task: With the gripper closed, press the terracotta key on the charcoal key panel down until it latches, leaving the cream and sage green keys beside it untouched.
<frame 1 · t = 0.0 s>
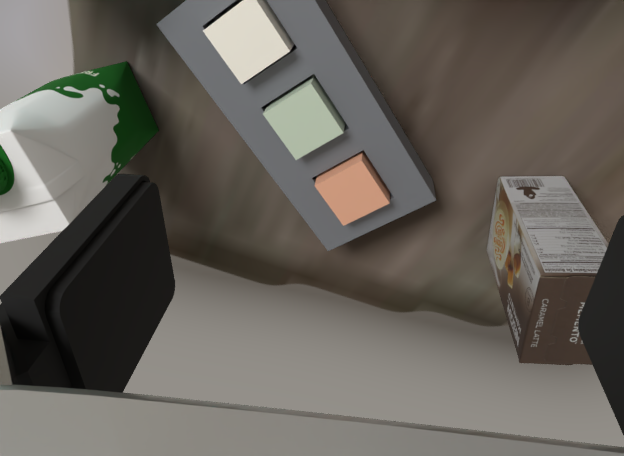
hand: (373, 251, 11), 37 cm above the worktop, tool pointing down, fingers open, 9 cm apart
terracotta key: (353, 186, 48), point 4 cm above the worktop, slide at 0.0 cm
coffee box: (523, 213, 52), on the worktop
milk carton: (114, 105, 51), on the worktop
key panel: (310, 102, 48), on the worktop
cream key: (250, 36, 41), point 4 cm above the worktop, slide at 0.0 cm
sage key: (305, 117, 45), point 4 cm above the worktop, slide at 0.0 cm
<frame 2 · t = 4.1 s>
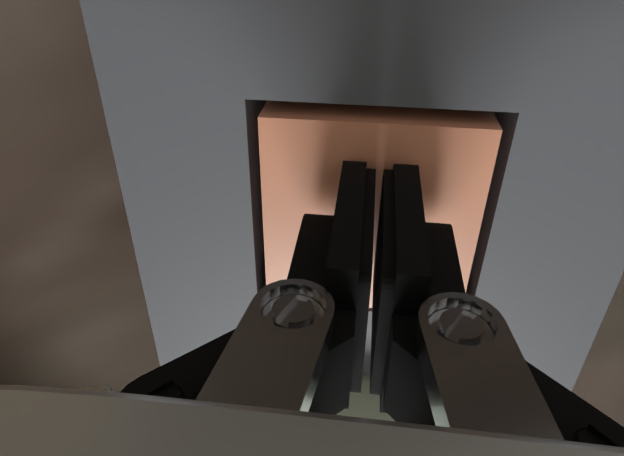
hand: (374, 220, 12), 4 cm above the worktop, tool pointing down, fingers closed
terracotta key: (370, 194, 13), point 3 cm above the worktop, slide at 1.1 cm, touching gripper
key panel: (356, 341, 20), on the worktop
sage key: (351, 426, 16), point 4 cm above the worktop, slide at 0.0 cm
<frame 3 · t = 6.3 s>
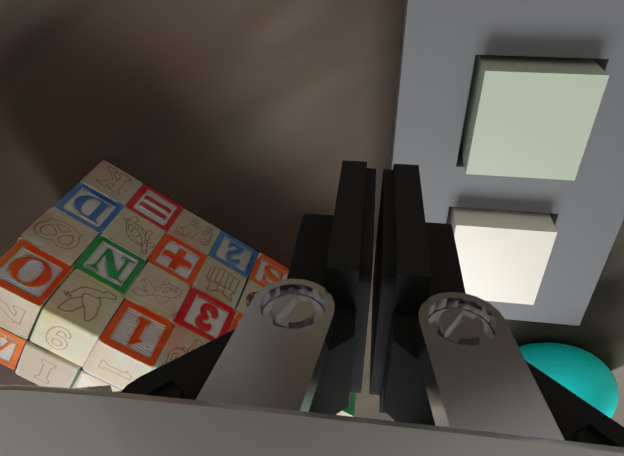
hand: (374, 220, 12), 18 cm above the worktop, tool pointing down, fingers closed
key panel: (511, 87, 27), on the worktop
cream key: (492, 249, 29), point 4 cm above the worktop, slide at 0.0 cm
stack of blocks: (223, 263, 38), on the worktop
donuts: (538, 377, 40), on the worktop
sage key: (525, 115, 24), point 4 cm above the worktop, slide at 0.0 cm
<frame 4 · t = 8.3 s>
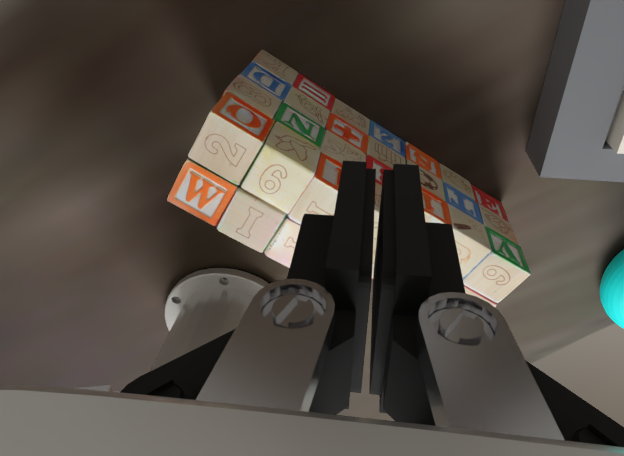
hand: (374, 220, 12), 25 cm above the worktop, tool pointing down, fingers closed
stack of blocks: (365, 159, 39), on the worktop
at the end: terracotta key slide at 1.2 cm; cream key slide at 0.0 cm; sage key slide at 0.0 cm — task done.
